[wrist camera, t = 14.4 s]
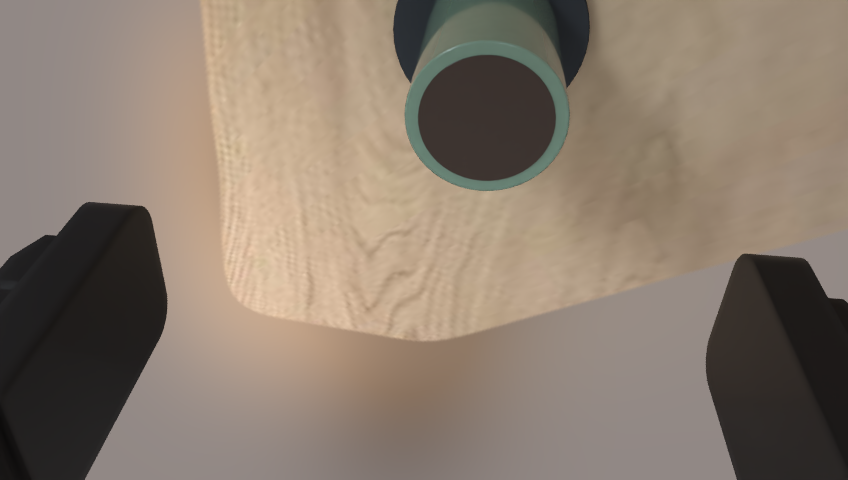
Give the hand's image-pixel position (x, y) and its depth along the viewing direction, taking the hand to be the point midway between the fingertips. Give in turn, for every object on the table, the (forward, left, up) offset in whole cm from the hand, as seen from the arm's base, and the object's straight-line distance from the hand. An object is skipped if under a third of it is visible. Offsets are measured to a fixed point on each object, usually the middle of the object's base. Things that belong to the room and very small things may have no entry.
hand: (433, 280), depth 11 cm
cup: (+3, -5, -26) cm, 27 cm away
